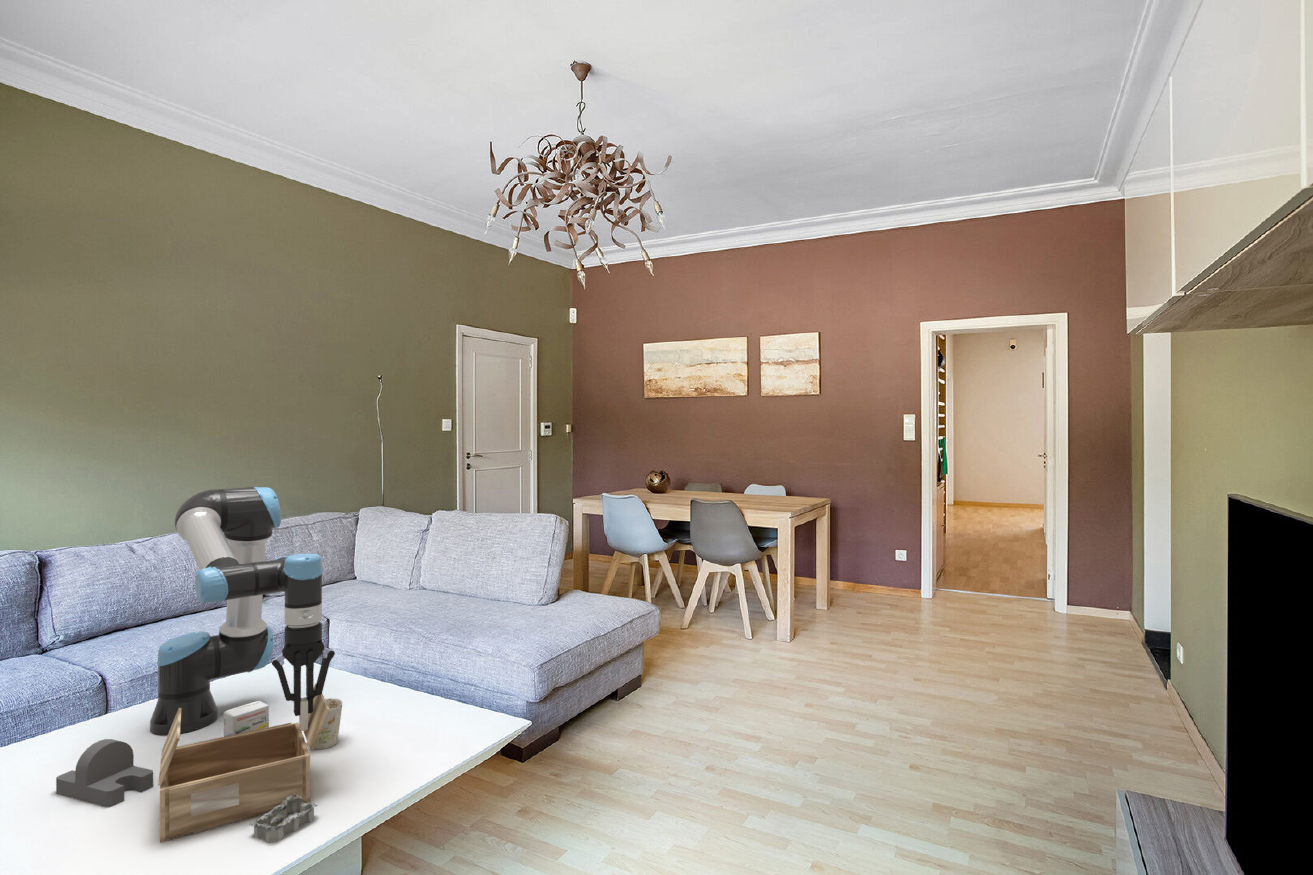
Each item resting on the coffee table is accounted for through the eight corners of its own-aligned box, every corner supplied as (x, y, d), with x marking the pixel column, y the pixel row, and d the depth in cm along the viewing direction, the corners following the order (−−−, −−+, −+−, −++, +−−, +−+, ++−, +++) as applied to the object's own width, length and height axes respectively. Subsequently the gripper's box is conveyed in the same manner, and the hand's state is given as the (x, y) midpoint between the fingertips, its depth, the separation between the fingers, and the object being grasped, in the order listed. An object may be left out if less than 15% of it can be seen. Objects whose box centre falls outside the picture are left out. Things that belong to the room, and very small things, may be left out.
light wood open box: (164, 794, 150) (164, 749, 149) (298, 762, 164) (298, 720, 164) (159, 844, 131) (159, 792, 131) (310, 803, 146) (310, 756, 146)
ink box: (233, 765, 163) (233, 715, 163) (223, 759, 166) (222, 711, 165) (270, 751, 170) (269, 703, 170) (259, 746, 173) (259, 699, 173)
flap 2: (315, 683, 164) (317, 683, 165) (299, 720, 162) (301, 720, 163) (327, 708, 149) (329, 708, 150) (309, 749, 147) (312, 749, 148)
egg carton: (297, 809, 144) (297, 790, 144) (321, 819, 141) (321, 799, 141) (247, 836, 135) (247, 815, 135) (271, 846, 131) (271, 825, 131)
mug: (349, 739, 176) (349, 700, 176) (310, 761, 165) (310, 720, 164) (324, 734, 179) (324, 696, 179) (284, 756, 167) (283, 715, 167)
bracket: (109, 809, 144) (108, 758, 144) (53, 794, 150) (53, 745, 150) (155, 786, 153) (155, 738, 153) (101, 773, 159) (101, 727, 159)
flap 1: (164, 749, 148) (162, 749, 148) (181, 707, 150) (178, 707, 149) (161, 784, 133) (158, 784, 133) (179, 738, 135) (176, 738, 134)
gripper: (272, 632, 148) (272, 741, 148) (337, 622, 155) (337, 727, 155) (269, 624, 154) (269, 729, 154) (332, 615, 161) (332, 716, 161)
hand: (303, 728), depth 155 cm, fingers closed
